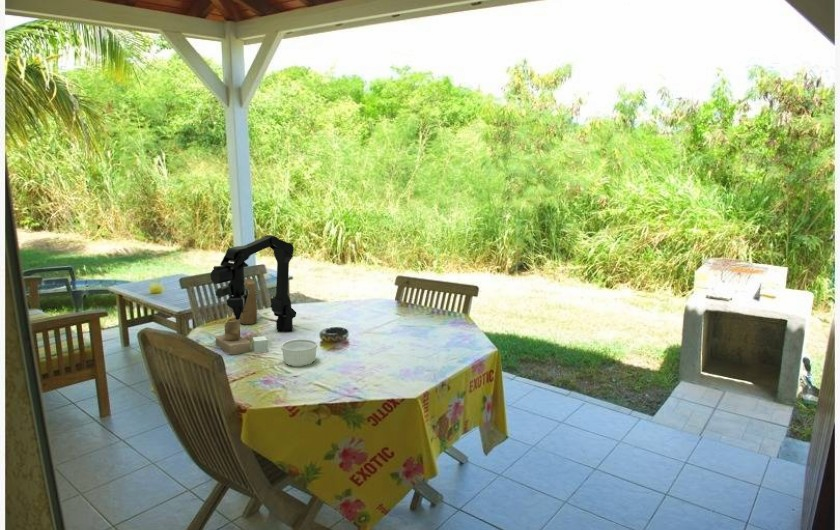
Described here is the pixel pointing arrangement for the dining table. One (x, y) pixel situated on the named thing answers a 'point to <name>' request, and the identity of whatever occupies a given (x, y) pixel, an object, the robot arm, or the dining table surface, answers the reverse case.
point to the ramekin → (299, 351)
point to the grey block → (260, 344)
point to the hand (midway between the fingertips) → (239, 316)
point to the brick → (233, 345)
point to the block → (250, 304)
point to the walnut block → (232, 330)
